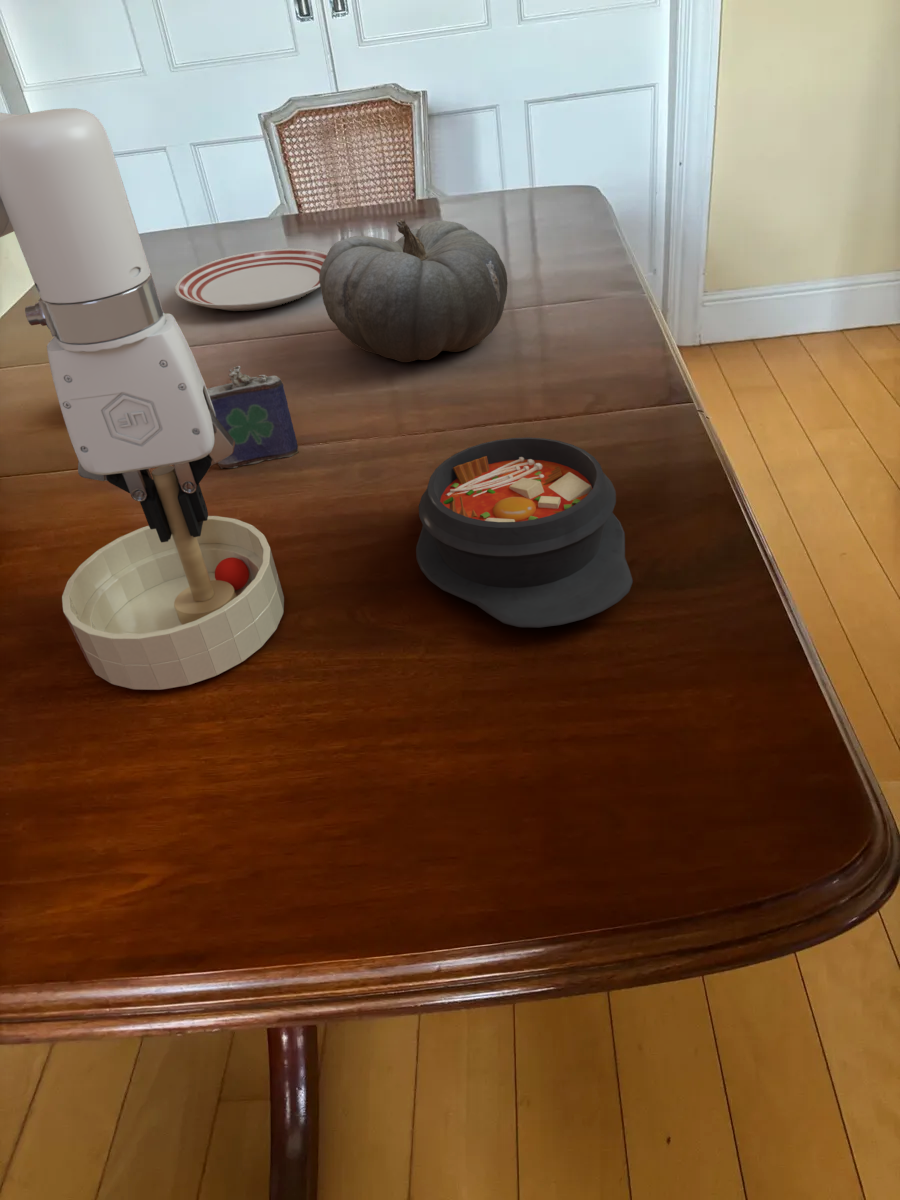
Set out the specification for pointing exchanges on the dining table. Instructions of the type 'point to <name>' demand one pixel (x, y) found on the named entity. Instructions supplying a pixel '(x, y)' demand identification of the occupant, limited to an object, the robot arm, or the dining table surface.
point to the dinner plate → (253, 279)
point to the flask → (254, 418)
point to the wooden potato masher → (189, 556)
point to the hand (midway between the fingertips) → (182, 529)
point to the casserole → (524, 532)
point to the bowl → (170, 607)
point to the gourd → (415, 290)
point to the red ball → (232, 572)
